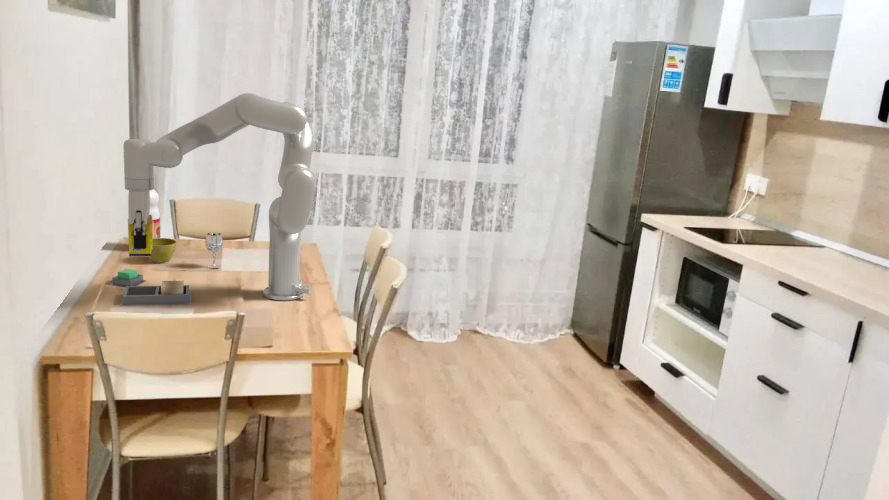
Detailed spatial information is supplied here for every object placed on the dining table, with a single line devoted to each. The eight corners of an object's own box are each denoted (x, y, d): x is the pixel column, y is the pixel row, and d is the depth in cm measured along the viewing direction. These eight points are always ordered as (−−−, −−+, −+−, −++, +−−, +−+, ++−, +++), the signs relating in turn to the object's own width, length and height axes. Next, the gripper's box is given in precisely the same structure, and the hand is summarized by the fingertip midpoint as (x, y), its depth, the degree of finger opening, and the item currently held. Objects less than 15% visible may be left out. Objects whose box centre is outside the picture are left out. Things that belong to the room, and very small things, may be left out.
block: (183, 294, 208) (183, 280, 207) (183, 301, 202) (183, 286, 201) (162, 295, 206) (162, 280, 205) (161, 301, 200) (160, 287, 199)
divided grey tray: (191, 294, 211) (191, 284, 210) (191, 307, 201) (191, 296, 200) (124, 296, 205) (123, 285, 204) (120, 309, 195) (119, 297, 194)
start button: (137, 277, 215) (137, 270, 214) (129, 281, 211) (129, 273, 211) (126, 276, 216) (125, 268, 215) (117, 279, 212) (117, 271, 211)
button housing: (147, 283, 217) (147, 274, 216) (131, 291, 210) (131, 281, 209) (124, 280, 219) (124, 271, 218) (108, 287, 211) (107, 278, 210)
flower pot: (163, 267, 235) (163, 247, 233) (139, 262, 237) (138, 242, 236) (182, 260, 244) (182, 240, 242) (158, 255, 247) (158, 236, 245)
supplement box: (151, 256, 196) (150, 219, 193) (128, 256, 194) (127, 219, 191) (153, 250, 202) (152, 214, 199) (130, 250, 200) (129, 214, 197)
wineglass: (209, 270, 236) (209, 236, 233) (202, 266, 240) (202, 232, 237) (225, 268, 239) (225, 235, 236) (218, 264, 244) (218, 231, 240)
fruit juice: (128, 247, 253) (126, 172, 246) (154, 244, 260) (152, 171, 253) (138, 253, 247) (136, 176, 240) (164, 250, 254) (163, 175, 246)
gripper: (127, 177, 199) (129, 237, 204) (121, 189, 184) (123, 253, 188) (155, 178, 202) (157, 237, 206) (151, 189, 186) (153, 253, 191)
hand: (141, 244), depth 197 cm, fingers closed on supplement box, 6 cm apart
